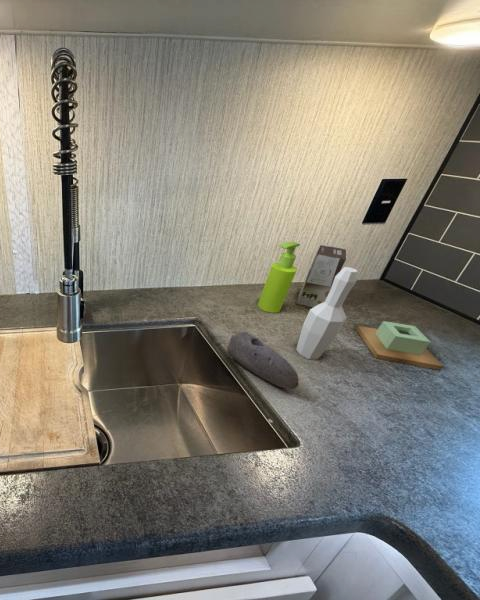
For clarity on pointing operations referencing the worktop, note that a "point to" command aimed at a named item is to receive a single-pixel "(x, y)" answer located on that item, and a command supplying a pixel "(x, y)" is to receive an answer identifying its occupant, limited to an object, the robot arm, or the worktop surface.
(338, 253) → the coffee box
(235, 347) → the perforated stone tool
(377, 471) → the worktop surface
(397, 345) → the sage block
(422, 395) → the worktop surface
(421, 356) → the base pad
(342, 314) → the faceted bottle
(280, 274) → the soap dispenser
